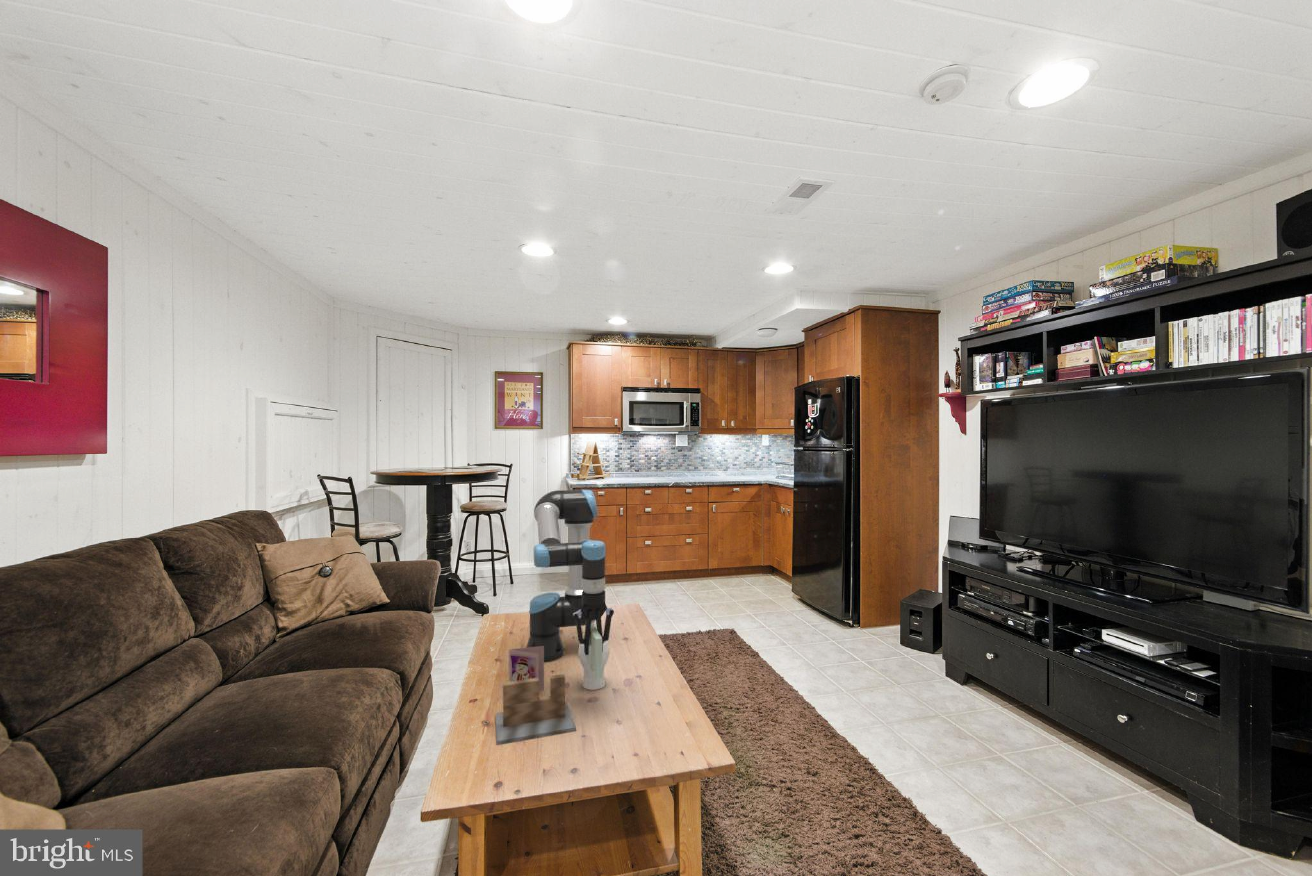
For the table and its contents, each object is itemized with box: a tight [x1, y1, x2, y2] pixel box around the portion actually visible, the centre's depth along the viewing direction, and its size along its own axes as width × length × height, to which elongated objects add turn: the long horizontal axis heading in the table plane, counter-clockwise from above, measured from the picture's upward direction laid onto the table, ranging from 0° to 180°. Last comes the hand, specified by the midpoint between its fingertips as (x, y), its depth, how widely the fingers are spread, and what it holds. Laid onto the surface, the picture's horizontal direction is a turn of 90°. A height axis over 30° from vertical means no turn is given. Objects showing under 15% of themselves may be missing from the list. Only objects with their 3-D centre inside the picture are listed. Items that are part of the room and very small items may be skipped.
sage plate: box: [586, 622, 602, 678], centre depth 168 cm, size 15×2×12 cm, turn 19°
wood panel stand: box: [494, 673, 577, 745], centre depth 157 cm, size 22×16×13 cm
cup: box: [577, 640, 610, 691], centre depth 182 cm, size 11×11×15 cm
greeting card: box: [508, 646, 545, 692], centre depth 176 cm, size 11×7×15 cm, turn 70°
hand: (593, 663), depth 169 cm, fingers closed on sage plate, 2 cm apart
